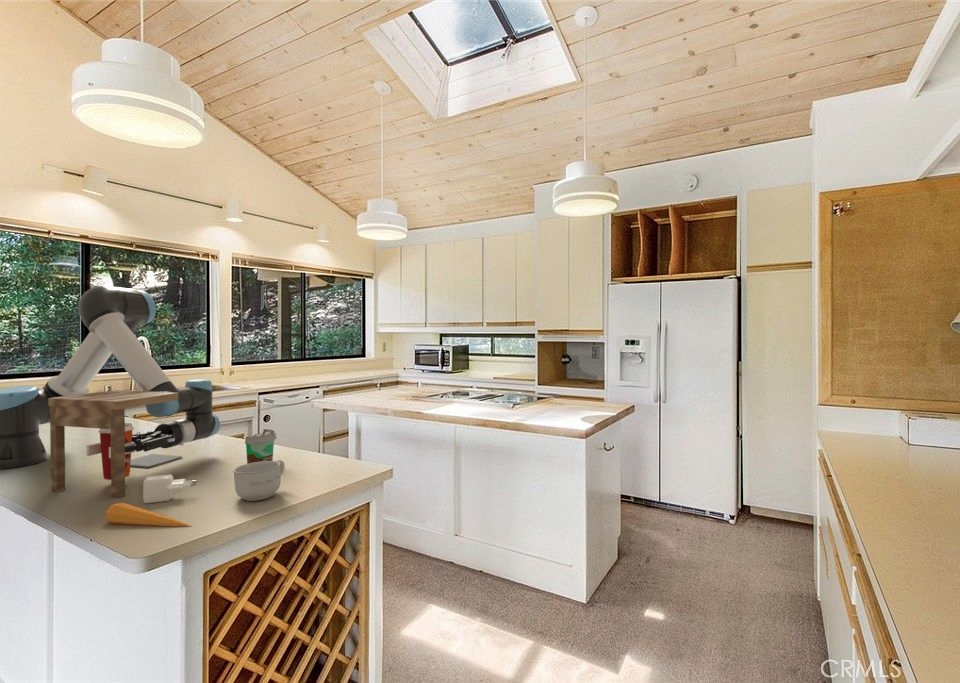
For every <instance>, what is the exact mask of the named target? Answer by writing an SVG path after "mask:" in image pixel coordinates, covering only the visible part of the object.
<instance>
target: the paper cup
mask: <svg viewBox="0 0 960 683" xmlns="http://www.w3.org/2000/svg"><path fill="white" fill-rule="evenodd" d="M134 429H135V428H134V426H133V424H132V423H129V422H125V443H130V442H132V434H133V430H134ZM97 433H98V434H99V440H100V442H101V453H100V455H101V465H102V475H103V476H102V477H103V479H104V480H105V481H111V458H109V447H111V429H98V432H97ZM100 442H99V443H100ZM131 458H132V453H129V454H125V478H127V477H129V476H130V472H131V467H130V462H131V460H132V459H131Z"/></svg>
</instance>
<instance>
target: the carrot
mask: <svg viewBox="0 0 960 683" xmlns="http://www.w3.org/2000/svg"><path fill="white" fill-rule="evenodd" d="M105 520H106V521H108V522H109V523H111V524H114V525H131V526H133V525H134V526H135V525H136V526H151V525H153V527H180V526H192V525H190V524H187V523H185V522H183V521H180V520H177V519H175V518H173V517H169V516H166V515H163V514H160V513H157V512H154V511H150V510H148V509H144V508H141V507H139V506H138V507H137V506H135V505H131V504H128V503H125V502H117V503H115V504H111V505H110V506H109V507H108V509H107V510H106V512H105ZM154 525H156V526H154Z"/></svg>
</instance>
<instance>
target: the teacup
mask: <svg viewBox="0 0 960 683" xmlns="http://www.w3.org/2000/svg"><path fill="white" fill-rule="evenodd" d="M285 468H286V467H285V462H284V461H283V460H281V459H275V460H272V461H261V462H254V463H249V464H247V463H245V464H241V465H239V466H237V467H235V468H233V471H232V472H233V478H234V490H235V493H236V495H237V496H238V497H240V498H241V499H243V500H244V501H247V502H255V501H261V500H266V499H268V498H271V497H272V496H273V495H274V494H275V493H276V492H277V491H278V490H279V489H280V488H281V487H280V486H281V482H282V481H281V476H282V475H283V473H284V471H285Z"/></svg>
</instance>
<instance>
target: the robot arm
mask: <svg viewBox="0 0 960 683" xmlns="http://www.w3.org/2000/svg"><path fill="white" fill-rule="evenodd" d="M155 305H156V303H155V300H154V299H153V297H152V296H151V295H150V294H149V293H148V292H147V291H145V290H143V289H136V288H126V287H119V286H110V285H98V286H94V287H92V288H90V289H88V290H87V291H85V292H84V293H83V294H82V296H80V298H79V302H78V313H79V316H80V318H81V320H82V323H83V324H84V326H85V327H86V328H87V329H88V331H89V332H88V334H87V336H86V337H85V339H84V340H83V341H82V342H81V344H80V345H79V347H78V348H77V349H76V351H75V352H74V354H73V355H72V356H71V358H70V359H69V361H68V362H67V363H66V365H65V366H64V367H63V369H62V371H61V372H60V373H59V374H58V375H54V376H52V377H50V378H49V379H48V380H47V381H46V383H45V385H44V386H42V387H41V388H39V387H38V386H37V385H19V386H11V387H4V388H0V470H4V469H12V468H13V469H14V468H21V467H26V466H31V465H35V464H39V463H41V462H44V461H46V460H47V456H48V455H47V454H48V452H47V450H46V448H45V446H44V444H43V441H42V439H41V437H40V426H41V425H45V424H50V406H49V404H48V398H54V397H63V396H71V395H80V394H88V393H90V389H89V385H90V384H91V383H92V382H93V381H94V379H95V377H96V376H97V375H98V374H99V372H100V370H101V369H102V368H103V367H104V365H105V363H106V362H107V361H108V360H109V358H110V357H111V355H112V354H113V356H114V357H115V358H116V359H117V361H118V362H119V363H120V365H121V367H123V368H124V370H125V371H126V372H127V374H128V375H129V376H130V378H131V379H132V380H133V382H134V383H135V384H136V385H137V386H138V387H139V389H140V391H149V392H173V393H178V400H174V401H168V402H162V403H155V404H149V405H144V406H145V410H146V412H147V414H149V415H150V416H152V417H153V418H165V417H166V418H167V417H172V416H175V415H177V414H181V413H185V418H184V419H183V418H182V419H178V420H174V421H173V420H172V421H168V422H165V423H164V422H163V423H160V424H158V425H157V426H156V427H155V429H154V430H150V431H146V432H142V433H141V432H140V431H137V432H134V433H132V442H130V443H125V454H129V453H131V454H132V453H135V452H142V451H143V452H149V451H151V450H156V449H159V448H161V449H169V448H173V447H176V446H177V447H178V446H181V447H182V446H184V445H185V444H187V443H191V442H195V441H198V440H202V439H203V440H204V439H207V438H210V437H212V436H215V435H217V433H218V432H219V431H220V429H221V421H220V419H219V416H217V415H216V414H214V413H213V393H214V392H213V384H212V381H211V380H210V379H205V378H204V379H203V378H202V379H201V378H200V379H199V378H198V379H189V380H187V381H186V382H185V385H184V387H182V388H181V387H180V388H177V387H176V386H175V384H174V383H173V382H172V381H171V380H170V378H169V376H167V374H166V373H165V372H164V370H163V369H162V368H161V367H160V365H159V364H158V363H157V361H156V360H155V359H154V358H153V356H152V355H151V354H150V353H149V352H148V350H147V349H146V348H145V346H144V345H143V344H142V342H141V341H140V340H139V339H138V337H137V336H136V335H135V334H134V333H135V331H136V330H137V328H138V327H139V326H140V325H145V324H149V323H150V322H152V320H154V317H155V315H156V311H157V308H156V306H155ZM85 449H86V454H85V455H86V457H89V456H90V457H91V456H93V455H94V456H95V455H99V454H101V442H97V443H93V444H88V445H86V448H85ZM109 458H111V447H109Z"/></svg>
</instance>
